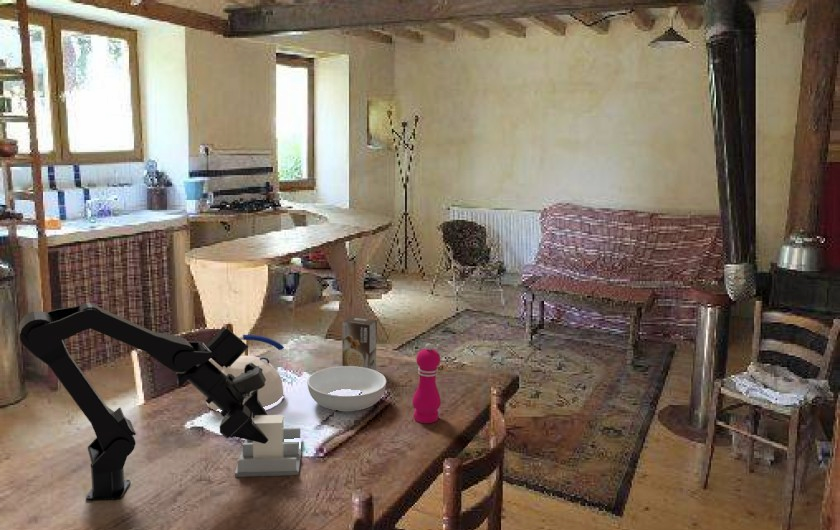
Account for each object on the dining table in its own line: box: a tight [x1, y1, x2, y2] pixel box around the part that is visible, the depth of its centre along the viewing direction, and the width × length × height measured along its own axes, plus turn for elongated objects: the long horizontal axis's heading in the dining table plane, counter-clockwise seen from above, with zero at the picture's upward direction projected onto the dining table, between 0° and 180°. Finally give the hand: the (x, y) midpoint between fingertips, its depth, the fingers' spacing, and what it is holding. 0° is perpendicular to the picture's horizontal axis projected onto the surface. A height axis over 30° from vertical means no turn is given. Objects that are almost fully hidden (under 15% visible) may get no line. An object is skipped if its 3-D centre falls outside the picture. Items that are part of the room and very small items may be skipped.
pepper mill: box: [412, 342, 442, 424], centre depth 164 cm, size 7×7×20 cm
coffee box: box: [341, 316, 378, 371], centre depth 196 cm, size 9×6×16 cm
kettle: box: [205, 334, 285, 411], centre depth 172 cm, size 20×21×18 cm
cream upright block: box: [253, 414, 284, 459], centre depth 139 cm, size 4×6×10 cm, turn 98°
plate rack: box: [234, 427, 302, 478], centre depth 143 cm, size 15×13×4 cm
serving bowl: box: [306, 365, 387, 412], centre depth 173 cm, size 21×21×7 cm
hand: (268, 431), depth 138 cm, fingers open, 9 cm apart
